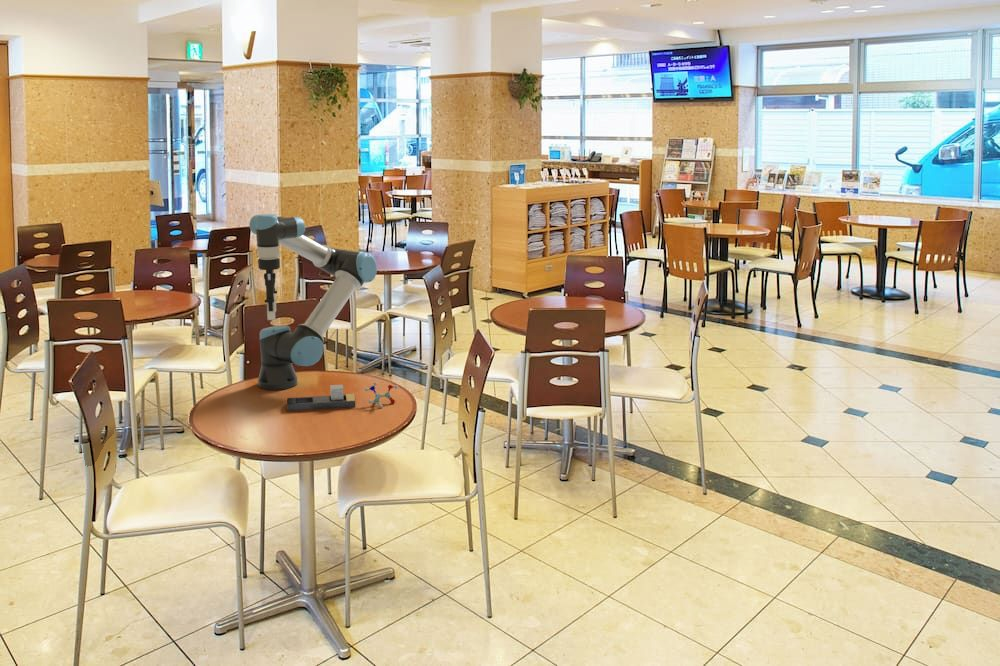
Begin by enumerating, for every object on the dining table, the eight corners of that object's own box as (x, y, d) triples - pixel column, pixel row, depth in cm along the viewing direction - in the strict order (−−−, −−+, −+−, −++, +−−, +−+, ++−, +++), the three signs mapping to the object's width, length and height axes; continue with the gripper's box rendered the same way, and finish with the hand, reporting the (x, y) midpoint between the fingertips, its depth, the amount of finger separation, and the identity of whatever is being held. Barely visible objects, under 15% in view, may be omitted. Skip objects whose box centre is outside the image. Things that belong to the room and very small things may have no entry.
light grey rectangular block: (331, 403, 322) (330, 385, 321) (343, 402, 323) (342, 384, 322) (331, 407, 318) (330, 389, 316) (343, 406, 319) (343, 388, 317)
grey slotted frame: (287, 404, 321) (287, 397, 320) (354, 400, 326) (353, 393, 325) (287, 411, 313) (287, 404, 313) (355, 407, 318) (355, 400, 318)
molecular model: (390, 401, 313) (380, 376, 315) (368, 412, 316) (358, 387, 318) (404, 401, 324) (394, 376, 326) (383, 412, 327) (374, 387, 329)
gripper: (259, 252, 326) (262, 308, 331) (256, 263, 302) (260, 323, 307) (280, 252, 327) (283, 307, 332) (278, 263, 304) (282, 322, 309)
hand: (272, 315), depth 320 cm, fingers open, 13 cm apart
